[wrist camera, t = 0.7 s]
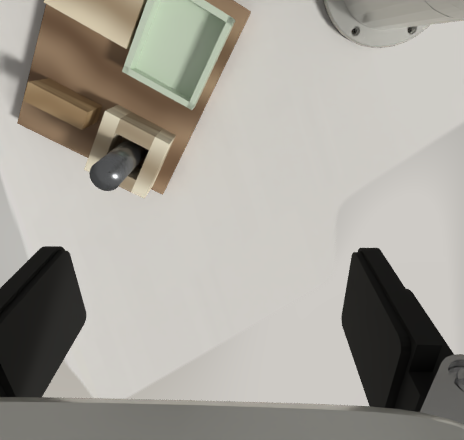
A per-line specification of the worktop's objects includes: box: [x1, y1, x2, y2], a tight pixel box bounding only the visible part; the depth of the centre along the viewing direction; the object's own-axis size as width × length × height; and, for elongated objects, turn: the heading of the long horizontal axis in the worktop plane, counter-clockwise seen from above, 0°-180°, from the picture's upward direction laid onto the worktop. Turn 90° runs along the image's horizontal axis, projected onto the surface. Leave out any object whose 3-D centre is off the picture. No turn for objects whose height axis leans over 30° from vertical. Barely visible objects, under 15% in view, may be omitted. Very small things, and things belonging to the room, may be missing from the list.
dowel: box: [90, 139, 148, 191], centre depth 35 cm, size 3×3×10 cm
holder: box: [84, 105, 176, 198], centre depth 38 cm, size 7×7×4 cm
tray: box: [122, 0, 235, 110], centre depth 34 cm, size 9×8×2 cm
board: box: [18, 0, 251, 195], centre depth 35 cm, size 22×18×6 cm
